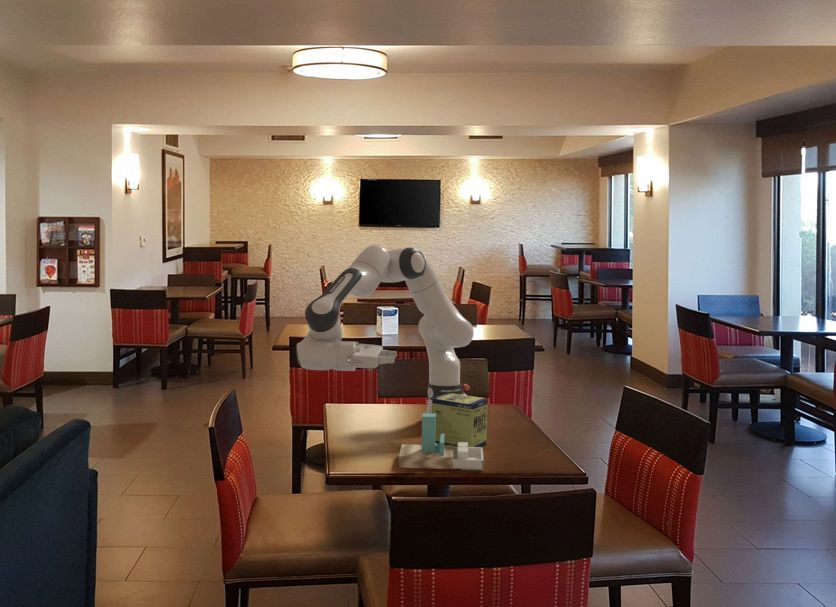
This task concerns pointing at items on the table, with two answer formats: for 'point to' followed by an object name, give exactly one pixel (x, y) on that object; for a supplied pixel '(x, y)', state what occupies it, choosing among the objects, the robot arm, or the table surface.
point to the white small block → (462, 453)
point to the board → (425, 457)
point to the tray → (469, 459)
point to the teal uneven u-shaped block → (431, 435)
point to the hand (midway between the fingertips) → (395, 357)
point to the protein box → (460, 419)
